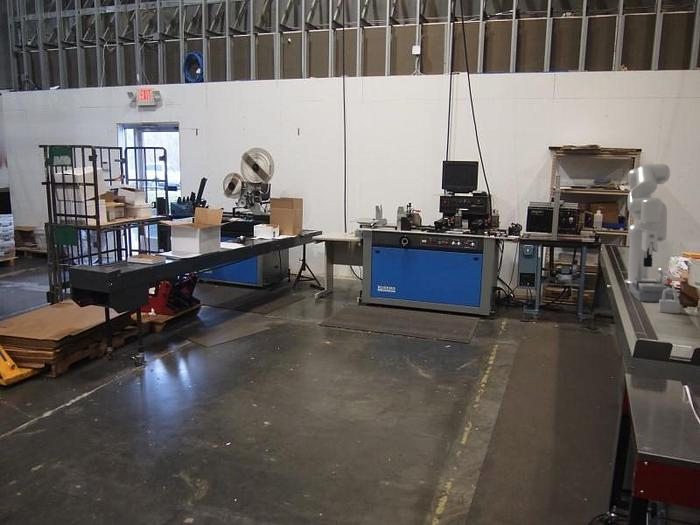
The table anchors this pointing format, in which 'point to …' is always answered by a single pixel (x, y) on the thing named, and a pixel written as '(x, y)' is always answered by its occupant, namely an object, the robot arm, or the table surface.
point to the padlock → (669, 303)
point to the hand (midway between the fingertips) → (647, 266)
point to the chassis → (648, 290)
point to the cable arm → (663, 272)
